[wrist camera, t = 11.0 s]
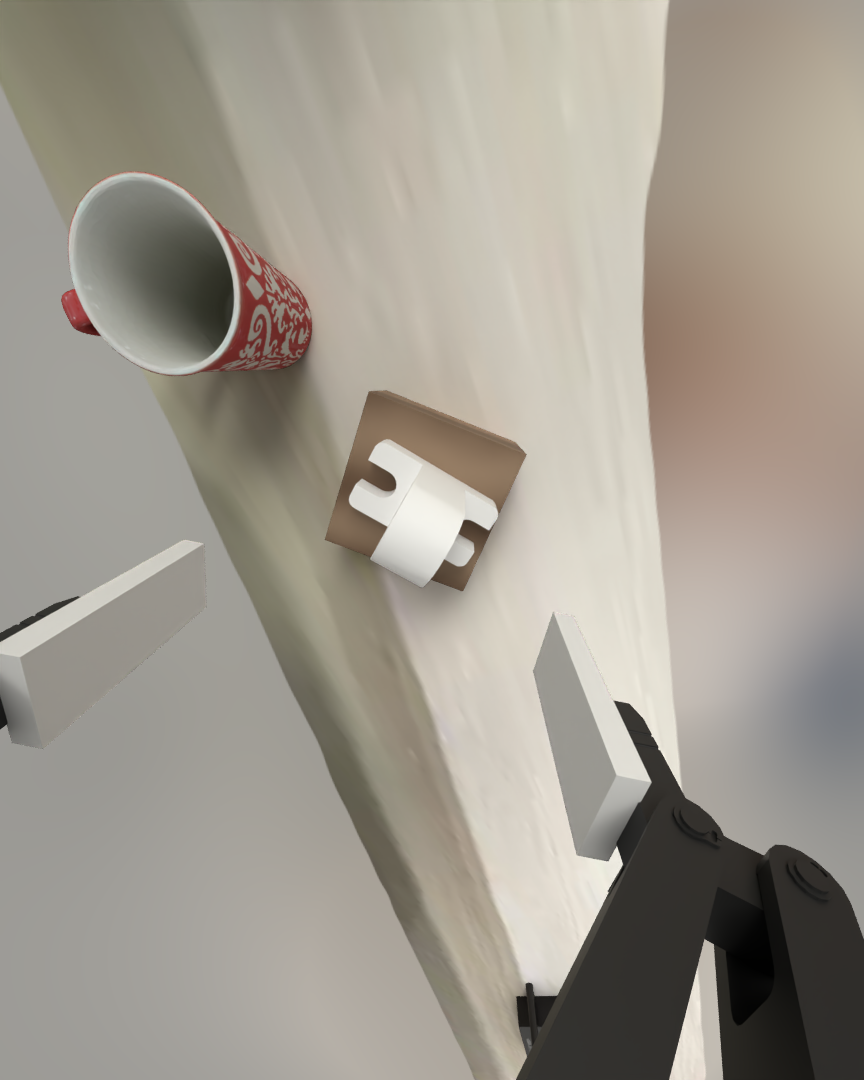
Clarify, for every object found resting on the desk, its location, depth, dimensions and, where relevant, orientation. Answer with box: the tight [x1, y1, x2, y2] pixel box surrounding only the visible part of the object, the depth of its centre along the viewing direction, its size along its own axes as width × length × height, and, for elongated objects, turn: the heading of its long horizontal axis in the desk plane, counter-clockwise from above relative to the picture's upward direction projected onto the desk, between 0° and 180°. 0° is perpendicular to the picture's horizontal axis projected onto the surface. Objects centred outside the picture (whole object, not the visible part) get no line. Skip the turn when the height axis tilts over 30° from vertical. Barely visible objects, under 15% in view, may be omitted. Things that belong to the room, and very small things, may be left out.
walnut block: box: [325, 391, 526, 591], centre depth 34 cm, size 12×12×7 cm
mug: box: [61, 171, 312, 376], centre depth 27 cm, size 13×9×14 cm
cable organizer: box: [349, 439, 498, 588], centre depth 26 cm, size 5×10×10 cm, turn 60°
